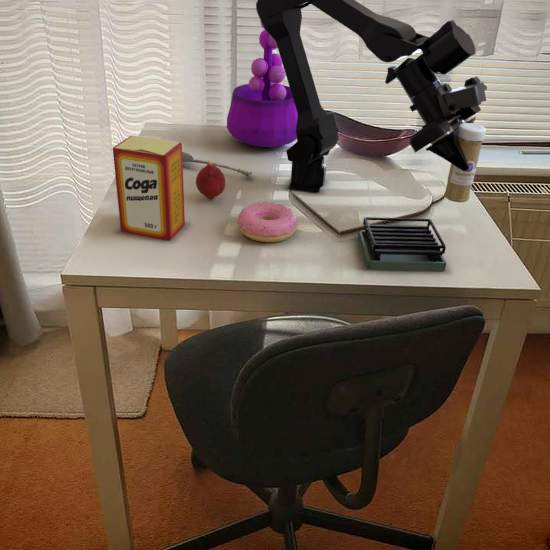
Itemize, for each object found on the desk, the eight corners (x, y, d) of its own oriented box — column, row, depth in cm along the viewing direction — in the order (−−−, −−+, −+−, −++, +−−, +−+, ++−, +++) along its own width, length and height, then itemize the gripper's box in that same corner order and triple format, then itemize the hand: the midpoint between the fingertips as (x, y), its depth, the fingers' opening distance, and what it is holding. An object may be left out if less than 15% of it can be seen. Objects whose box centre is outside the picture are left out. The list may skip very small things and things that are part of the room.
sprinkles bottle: (453, 204, 109) (470, 131, 101) (438, 194, 112) (453, 122, 105) (474, 201, 110) (492, 129, 103) (458, 191, 114) (475, 121, 106)
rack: (370, 266, 101) (373, 244, 99) (361, 237, 110) (363, 217, 108) (441, 267, 102) (446, 246, 100) (426, 238, 110) (430, 218, 108)
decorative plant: (221, 131, 157) (221, 5, 141) (290, 128, 161) (298, 6, 145) (234, 157, 141) (236, 19, 125) (311, 154, 145) (321, 20, 130)
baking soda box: (121, 231, 108) (112, 145, 100) (137, 216, 114) (130, 133, 105) (170, 240, 106) (165, 153, 98) (184, 224, 112) (181, 140, 103)
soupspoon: (169, 159, 141) (154, 170, 136) (167, 145, 139) (152, 155, 134) (256, 173, 134) (244, 185, 129) (256, 158, 132) (243, 170, 127)
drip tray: (367, 269, 101) (368, 261, 100) (357, 238, 110) (358, 230, 110) (444, 271, 102) (446, 263, 101) (428, 239, 111) (429, 231, 110)
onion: (230, 197, 123) (230, 159, 119) (216, 207, 118) (216, 169, 114) (205, 191, 125) (205, 153, 121) (190, 201, 120) (189, 163, 116)
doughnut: (308, 237, 110) (310, 216, 107) (256, 251, 104) (257, 230, 102) (276, 213, 117) (277, 193, 115) (226, 225, 112) (226, 205, 110)
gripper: (441, 72, 94) (494, 158, 95) (482, 53, 107) (528, 129, 108) (387, 111, 102) (436, 190, 102) (431, 89, 115) (474, 160, 116)
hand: (471, 166), depth 107 cm, fingers closed on sprinkles bottle, 4 cm apart
